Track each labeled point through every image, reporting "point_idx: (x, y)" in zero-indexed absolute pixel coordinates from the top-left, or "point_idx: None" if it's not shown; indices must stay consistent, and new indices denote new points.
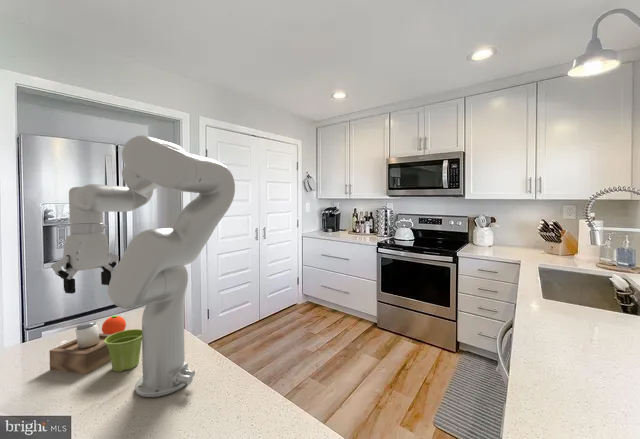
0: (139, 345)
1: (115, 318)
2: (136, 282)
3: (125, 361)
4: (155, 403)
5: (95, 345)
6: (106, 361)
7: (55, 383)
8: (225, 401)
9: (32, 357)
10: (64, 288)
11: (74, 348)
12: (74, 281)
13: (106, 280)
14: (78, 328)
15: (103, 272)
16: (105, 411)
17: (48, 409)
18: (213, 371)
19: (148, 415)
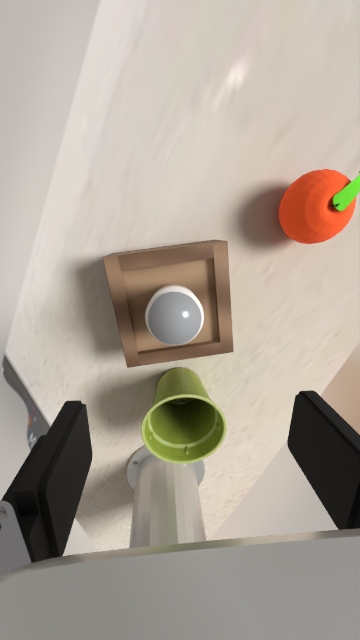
0: (193, 436)
1: (326, 222)
2: None
3: (165, 415)
4: (120, 497)
5: None
6: None
7: (89, 325)
8: None
9: (132, 112)
10: (37, 449)
11: (147, 289)
12: (62, 539)
13: (303, 457)
14: (148, 320)
15: (355, 491)
16: None
17: (45, 395)
18: (207, 506)
19: (100, 506)
